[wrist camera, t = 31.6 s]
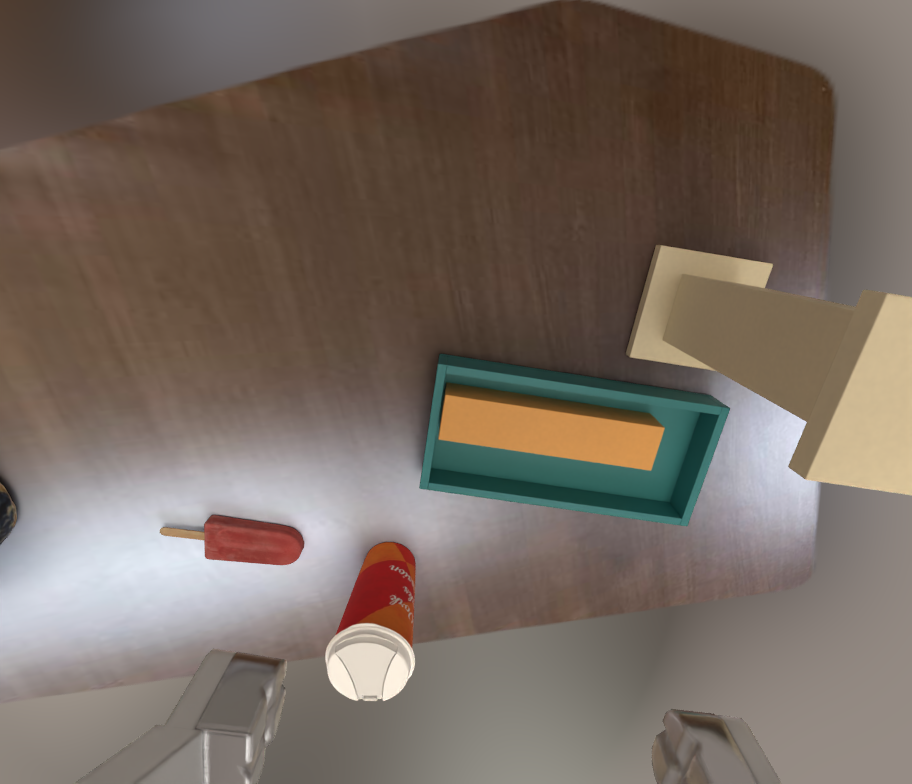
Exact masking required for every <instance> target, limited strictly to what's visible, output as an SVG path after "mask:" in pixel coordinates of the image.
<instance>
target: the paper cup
mask: <svg viewBox="0 0 912 784" xmlns="http://www.w3.org/2000/svg"><path fill="white" fill-rule="evenodd" d="M414 597H415V559H414V556H413V554H412V553H411V551H410V550H409V549H408V548H406V547H405V546H403V545H401V544H398V543H394V542H384V543H380V544H378V545H376V546H374V547H373V548H372V549H371V550H370V551H369V552H368V554H367V556H366V558H365V560H364V563H363V565H362V568H361V570H360V573H359V575H358V578H357V580H356V583H355V586H354V588H353V591H352V593H351V596H350V599H349V601H348V604H347V607H346V609H345V612H344V615H343V617H342V620H341V622H340V625H339V628H338V630H337V633H336V635H335V636H334V638H333V639H332V640H331V641H330V643H329V644H328V647H327V649H326V655H325V658H326V664H327V673H328V677H329V679H330V682H331V683H332V685H333V686H334V687H335V688H336V689H337V690H338V691H339V692H340V693H341V694H343V695H344V696H346V697H348V698H350V699H353V700H356V701H358V698H359V699H364V701H376V700H377V699H382V697H383V701H384V700H387V699H390V698H392V697H394V696H395V695H396V694H398V693H399V692H400V691H401V690H402V689H403V687H404V686H405V684H406V682H407V680H408V679H409V678H410V676H411V674H412V672H413V670H414V666H415V656H414V652H413V650H412V640H413V619H414Z"/></svg>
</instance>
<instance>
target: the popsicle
mask: <svg viewBox="0 0 912 784" xmlns="http://www.w3.org/2000/svg"><path fill="white" fill-rule="evenodd" d="M160 533H161V534H162V535H165V536H172V537H181V538H190V539H198V540H205V557H206V558H207V559H212V560H224V561H236V562H248V563H260V564H272V565H287V564H291V563H293V562H295V561H296V560H297V559H298V558H299V556H300V554H301V552H302V550H303V548H304V541H303V538H302V536H301V534H300V533H299V532H298V531H297V530H295V529H294V528H291V527H288V526H284V525H278V524H271V523H264V522H258V521H251V520H244V519H237V518H231V517H224V516H217V515H212V516H210V518H209V519H208V520H207V521H206V522H205V524H204V532H202V531H194V530H185V529H176V528H168V527H163V528H161V529H160Z"/></svg>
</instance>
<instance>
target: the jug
mask: <svg viewBox="0 0 912 784" xmlns="http://www.w3.org/2000/svg"><path fill="white" fill-rule="evenodd" d="M16 520H17V513H16V506H15V504H14V503H13V501H12V499H11V497H10V495H9V494H8V492H7V490H6V489H5V487H4V486H3V485H2V484H1V483H0V545H1V544H2V542H3V541H4V540H5V539H6V538H7V537H8V536H9V534H10V533H11V531H12V529H13V527H14V526H15V523H16Z"/></svg>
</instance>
